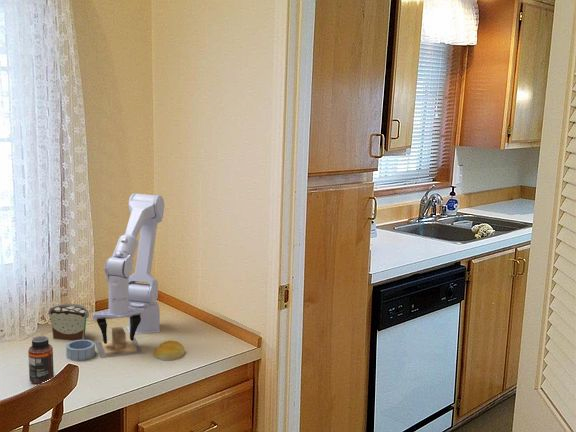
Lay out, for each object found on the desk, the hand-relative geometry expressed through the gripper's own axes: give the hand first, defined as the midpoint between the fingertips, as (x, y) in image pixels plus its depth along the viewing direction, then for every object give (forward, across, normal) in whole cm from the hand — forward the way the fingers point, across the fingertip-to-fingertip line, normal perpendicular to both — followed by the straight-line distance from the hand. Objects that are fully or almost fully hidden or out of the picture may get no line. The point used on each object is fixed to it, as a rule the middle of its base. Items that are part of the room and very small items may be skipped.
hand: (118, 341), depth 180 cm
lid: (+2, 0, 0) cm, 2 cm away
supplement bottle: (+3, -22, -14) cm, 26 cm away
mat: (+2, 0, 0) cm, 3 cm away
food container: (+3, -12, +13) cm, 18 cm away
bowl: (+2, -11, -2) cm, 11 cm away
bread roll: (+3, +13, -9) cm, 16 cm away
